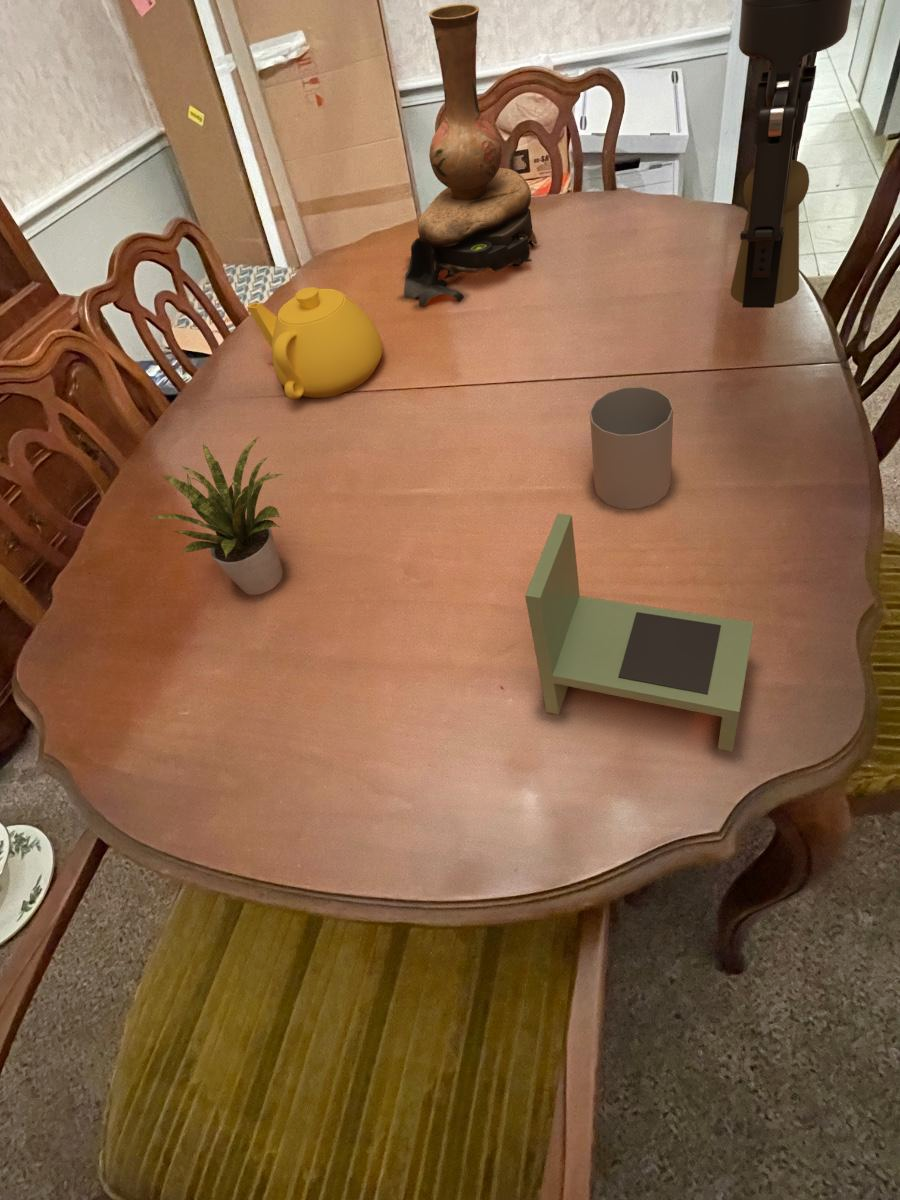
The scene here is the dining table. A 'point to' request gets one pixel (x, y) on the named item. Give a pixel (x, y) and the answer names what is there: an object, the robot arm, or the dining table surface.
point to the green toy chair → (631, 644)
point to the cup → (632, 446)
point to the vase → (466, 177)
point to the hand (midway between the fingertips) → (763, 286)
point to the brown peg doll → (790, 245)
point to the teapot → (320, 343)
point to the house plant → (233, 525)
